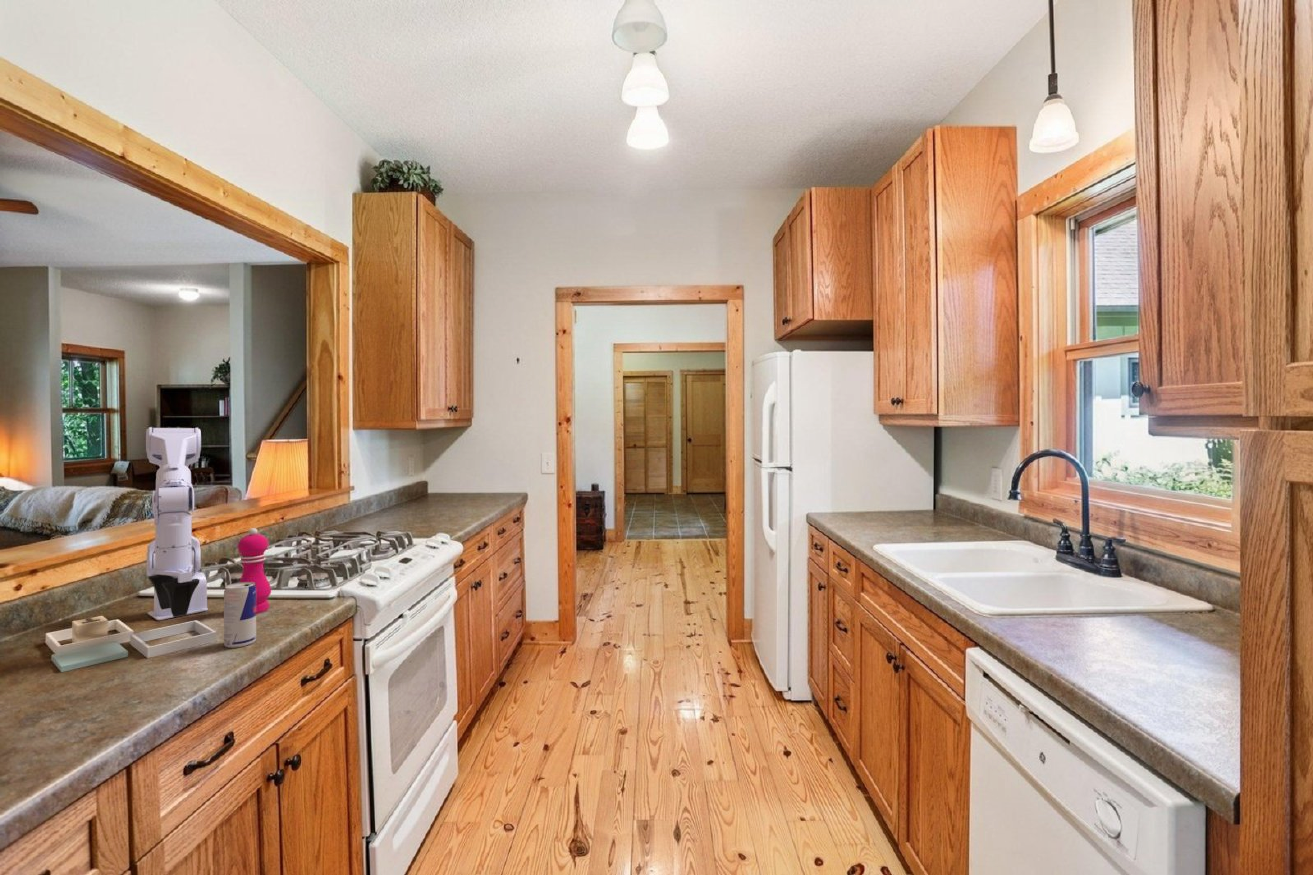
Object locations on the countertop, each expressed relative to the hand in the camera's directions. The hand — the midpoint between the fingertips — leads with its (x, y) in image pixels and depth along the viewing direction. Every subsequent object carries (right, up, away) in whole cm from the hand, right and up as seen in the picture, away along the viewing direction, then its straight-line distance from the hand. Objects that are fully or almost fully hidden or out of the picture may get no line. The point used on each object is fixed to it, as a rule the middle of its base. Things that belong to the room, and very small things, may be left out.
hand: (173, 611), depth 118 cm
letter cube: (-17, -6, 0) cm, 18 cm away
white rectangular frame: (0, -6, 0) cm, 6 cm away
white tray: (-17, -6, 0) cm, 18 cm away
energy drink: (+14, -7, 0) cm, 15 cm away
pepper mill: (+2, -6, +21) cm, 22 cm away
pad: (-9, -6, -8) cm, 14 cm away
